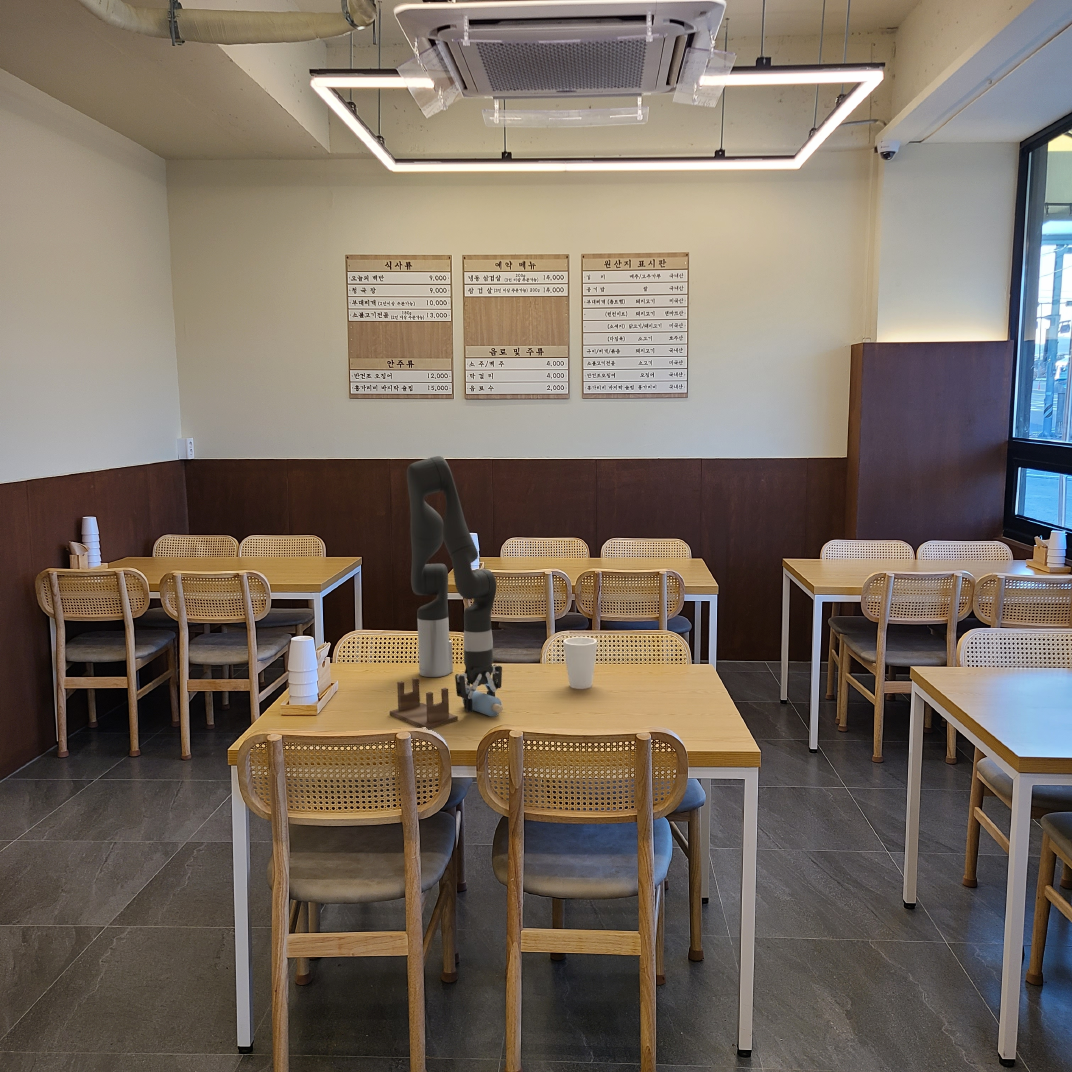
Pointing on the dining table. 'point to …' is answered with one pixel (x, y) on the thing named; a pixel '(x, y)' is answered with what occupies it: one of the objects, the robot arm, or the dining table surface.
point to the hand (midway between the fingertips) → (479, 708)
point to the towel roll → (486, 704)
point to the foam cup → (580, 661)
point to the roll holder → (422, 707)
